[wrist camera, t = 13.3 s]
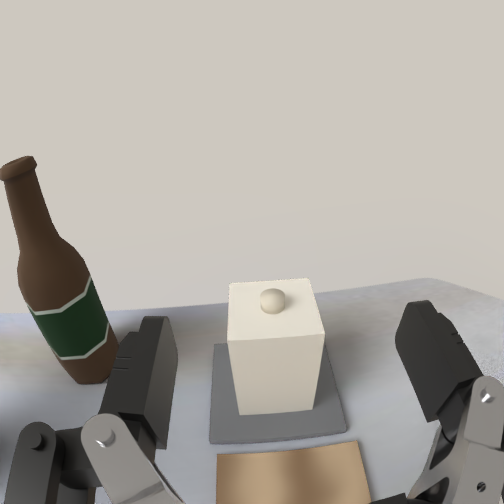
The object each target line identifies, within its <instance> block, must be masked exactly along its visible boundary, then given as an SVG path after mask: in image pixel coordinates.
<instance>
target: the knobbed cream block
mask: <svg viewBox="0 0 504 504" xmlns="http://www.w3.org/2000/svg"><path fill="white" fill-rule="evenodd" d="M324 338H325V331H324V328H323V325H322V321H321V318H320V314H319V311H318V308H317V304H316V301H315V298H314V294H313V291H312V288H311V284H310V281H309V278H301V279H288V280H273V281H256V282H240V283H230V285H229V307H228V332H227V343H228V349H229V356H230V362H231V368H232V374H233V380H234V386H235V392H236V398H237V404H238V409H239V415H255V414H271V413H284V412H295V411H304V410H312V408H313V403H314V398H315V393H316V387H317V381H318V376H319V370H320V364H321V357H322V351H323V344H324Z"/></svg>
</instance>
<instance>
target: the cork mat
mask: <svg viewBox="0 0 504 504" xmlns="http://www.w3.org/2000/svg"><path fill="white" fill-rule="evenodd" d="M369 503H371V497H370V493H369V488H368V484H367V480H366V475H365V471H364V467H363V463H362V459H361V455H360V451H359V447H358V443H357V440H356V441H351V442H346V443H340V444H335V445H328V446H322V447H315V448H307V449H299V450H290V451H280V452H267V453H250V454H217V485H216V504H369Z"/></svg>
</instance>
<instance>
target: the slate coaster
mask: <svg viewBox="0 0 504 504" xmlns="http://www.w3.org/2000/svg"><path fill="white" fill-rule="evenodd" d="M346 429H347V427H346V423H345V419H344V415H343V411H342V407H341V403H340V399H339V396H338V392H337V388H336V384H335V380H334V377H333V373H332V369H331V365H330V362H329V358H328V355H327V351H326V347H325V344H323V351H322V357H321V364H320V370H319V376H318V381H317V387H316V393H315V398H314V403H313V408H312V410H304V411H295V412H284V413H271V414H255V415H239V409H238V404H237V398H236V392H235V386H234V380H233V374H232V368H231V362H230V356H229V349H228V344H214V359H213V375H212V392H211V411H210V431H209V441H210V444H242V443H262V442H276V441H287V440H296V439H305V438H313V437H320V436H327V435H333V434H339V433H345V432H346Z"/></svg>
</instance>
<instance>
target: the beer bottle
mask: <svg viewBox="0 0 504 504" xmlns="http://www.w3.org/2000/svg"><path fill="white" fill-rule="evenodd" d="M36 166H37V163H36V161H35V160H34V158H33V156H25V157H21V158H19V159H16V160H13V161H11V162H9V163H7V164H5V165H3V166H2V168H1V169H0V180H2V181H4V184H5V190H6V194H7V199H8V203H9V207H10V211H11V215H12V219H13V223H14V227H15V230H16V234H17V238H18V243H19V249H20V256H19V261H18V268H17V273H18V284H19V287H20V290H21V293H22V295H23V297H24V300H25V302H26V304H27V306H28V308H29V310H30V312H31V314H32V316H33V318H34V320H35V321H36V323H37V325H38V327H39V329H40V330H41V332H42V334H43V336H44V338H45V339H46V341H47V343H48V344H49V346H50V348H51V349H52V351H53V353H54V354H55V356H56V357H57V359H58V361H59V362H60V363H61V365H62V366H63V367H64V369H65V370H66V371H67V372H68V373H69V375H70V376H71V377H72V378H73V379H74V380H75V381H76V382H77V383H78V384H92V383H101V382H103V381H104V380H105V379H106V378H107V377H108V376H110V373H111V370H113V368H112V367H113V364H114V361H115V359H116V354H117V351H118V348H119V345H118V342H117V339H116V337H115V335H114V332H113V330H112V328H111V326H110V323H109V321H108V319H107V316H106V314H105V311H104V309H103V306H102V304H101V301H100V299H99V296H98V294H97V291H96V289H95V286H94V283H93V281H92V278H91V275H90V273H89V271H88V268H87V266H86V264H85V261H84V259H83V258H82V257H81V256H80V254H79V253H78V252H77V251H76V249H75V248H74V247H73V246H71V245H70V244H69V243H68V242H66V241H65V240H64V239H62V238H61V237H60V236H59V234H58V232H57V231H56V229H55V227H54V225H53V223H52V220H51V218H50V215H49V212H48V209H47V207H46V204H45V201H44V198H43V195H42V192H41V189H40V185H39V182H38V179H37V176H36V172H35V168H36Z"/></svg>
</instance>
